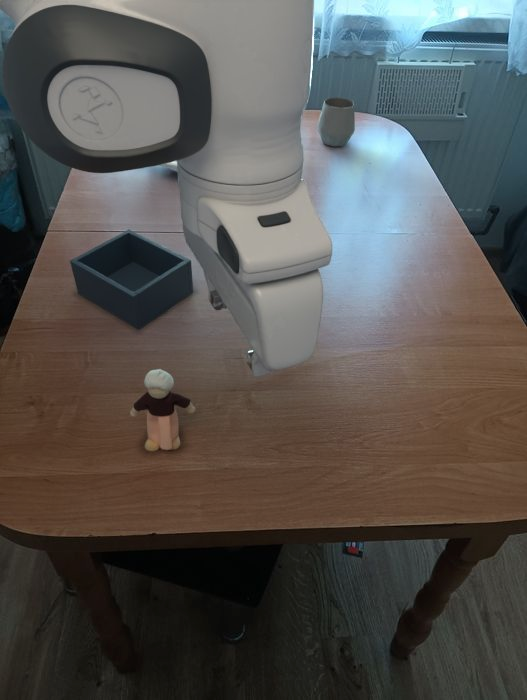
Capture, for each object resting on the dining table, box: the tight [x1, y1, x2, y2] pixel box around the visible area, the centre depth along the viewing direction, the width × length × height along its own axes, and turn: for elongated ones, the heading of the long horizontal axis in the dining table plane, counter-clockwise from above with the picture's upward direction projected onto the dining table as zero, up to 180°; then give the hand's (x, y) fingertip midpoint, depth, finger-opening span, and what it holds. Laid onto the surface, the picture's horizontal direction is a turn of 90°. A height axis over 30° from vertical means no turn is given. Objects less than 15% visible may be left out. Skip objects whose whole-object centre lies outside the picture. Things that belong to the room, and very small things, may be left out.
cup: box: [317, 96, 356, 148], centre depth 137 cm, size 10×9×10 cm
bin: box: [69, 229, 194, 331], centre depth 89 cm, size 13×15×7 cm
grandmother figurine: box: [129, 368, 196, 452], centre depth 65 cm, size 8×4×13 cm, turn 106°
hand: (238, 335), depth 49 cm, fingers open, 8 cm apart
